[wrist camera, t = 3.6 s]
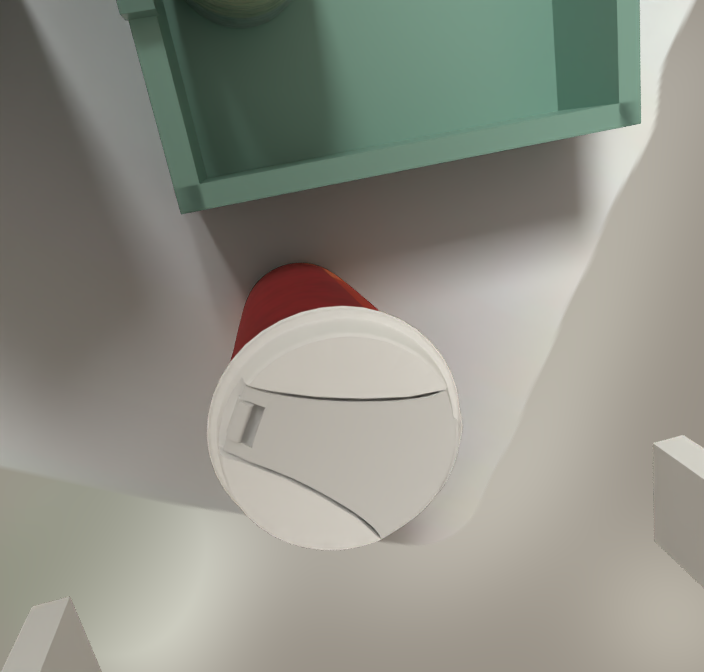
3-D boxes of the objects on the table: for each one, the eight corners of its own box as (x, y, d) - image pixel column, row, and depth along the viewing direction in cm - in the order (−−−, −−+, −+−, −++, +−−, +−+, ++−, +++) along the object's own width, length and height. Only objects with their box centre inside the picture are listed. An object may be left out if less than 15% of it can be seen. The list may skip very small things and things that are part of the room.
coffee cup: (202, 364, 32) (169, 537, 17) (249, 218, 30) (254, 280, 16) (346, 404, 34) (419, 586, 20) (398, 270, 32) (521, 366, 18)
